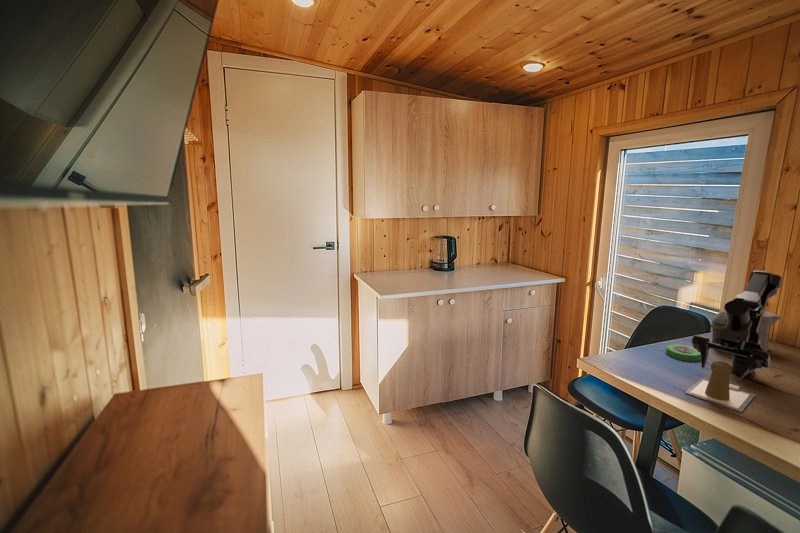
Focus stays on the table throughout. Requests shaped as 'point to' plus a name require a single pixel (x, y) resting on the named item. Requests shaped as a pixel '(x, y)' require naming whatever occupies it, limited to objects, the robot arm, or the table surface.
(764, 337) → the coffeepot
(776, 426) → the table surface
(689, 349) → the tape roll
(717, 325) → the beverage cup
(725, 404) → the clipboard
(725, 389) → the cork
